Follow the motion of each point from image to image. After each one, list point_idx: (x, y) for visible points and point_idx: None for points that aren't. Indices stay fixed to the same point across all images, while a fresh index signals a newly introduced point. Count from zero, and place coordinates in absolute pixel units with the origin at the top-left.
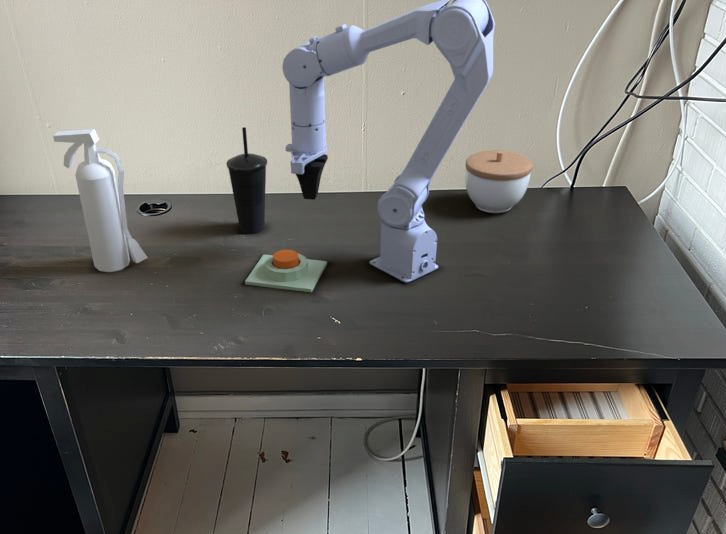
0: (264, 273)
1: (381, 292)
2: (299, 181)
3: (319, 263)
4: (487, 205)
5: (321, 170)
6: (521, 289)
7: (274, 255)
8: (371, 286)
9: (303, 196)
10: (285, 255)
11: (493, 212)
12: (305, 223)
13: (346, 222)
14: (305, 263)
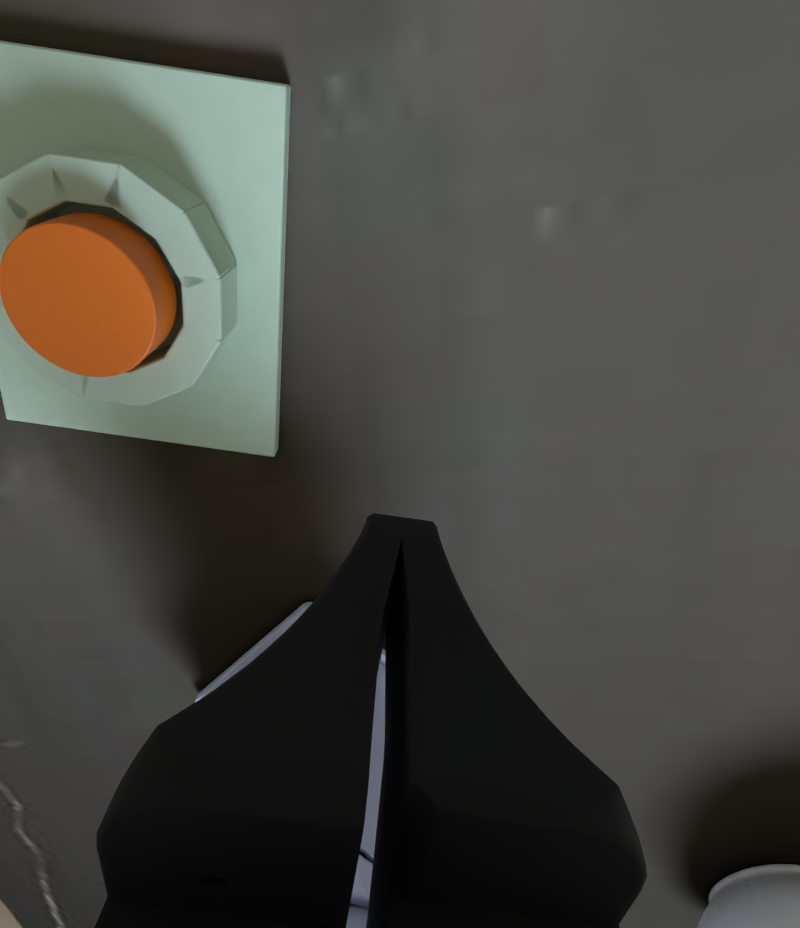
0: (57, 148)
1: (121, 633)
2: (300, 617)
3: (243, 428)
4: (708, 916)
5: (372, 874)
6: None
7: (52, 232)
8: (150, 606)
9: (365, 523)
10: (77, 304)
11: (710, 891)
12: (765, 285)
13: (731, 497)
14: (118, 398)
